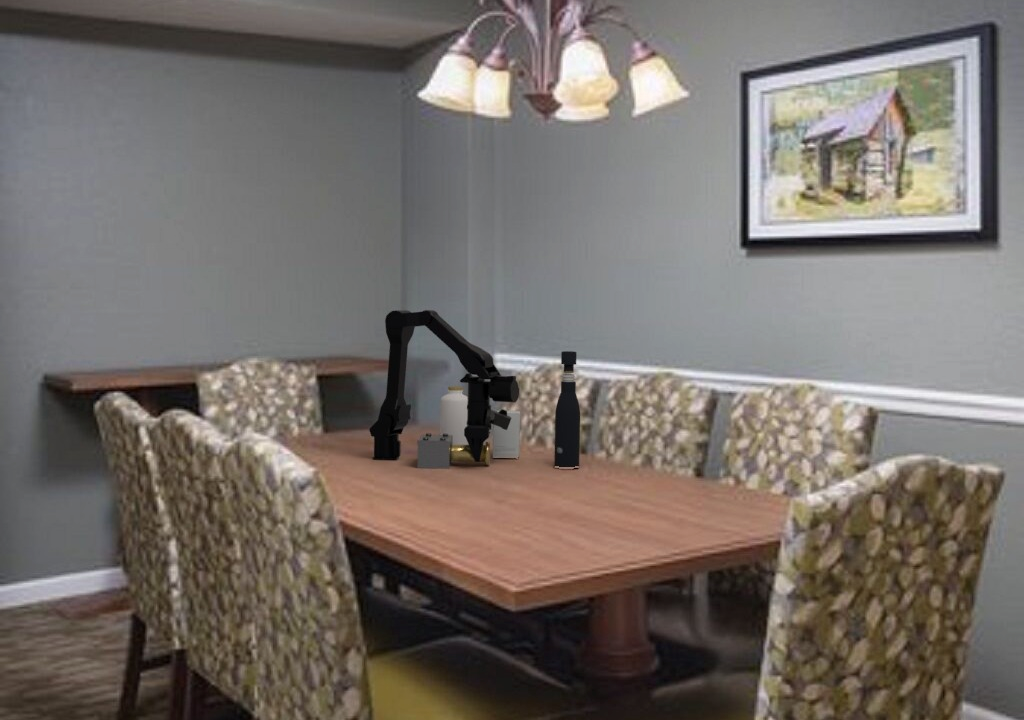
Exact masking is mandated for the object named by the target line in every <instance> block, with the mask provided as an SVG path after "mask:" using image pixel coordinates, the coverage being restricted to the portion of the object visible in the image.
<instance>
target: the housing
mask: <svg viewBox="0 0 1024 720" xmlns="http://www.w3.org/2000/svg"><path fill="white" fill-rule="evenodd" d="M450 444H453V435H448V434H443V435H440V434H432V433H429V432H427V433H425V434H421V435H420V437H418V439H417V469H437V468H449V467H450V468H451V466H450V465H452V464H451V463H453V462H452V461H450ZM450 468H449V469H450Z"/></svg>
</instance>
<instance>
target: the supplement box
mask: <svg viewBox="0 0 1024 720" xmlns="http://www.w3.org/2000/svg"><path fill="white" fill-rule="evenodd" d="M496 411H497V412H499V411H500V410H496ZM506 411H507V416H510V417H511V421H510V424H509V426H508V429H507V430H504V429H502V428H501V427H499V426H496V425H493V424H492V458H493V457H495V458H498V457H519V458H520V447H521V446H520V443H521V410H506Z"/></svg>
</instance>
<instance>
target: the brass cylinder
mask: <svg viewBox="0 0 1024 720" xmlns="http://www.w3.org/2000/svg"><path fill="white" fill-rule="evenodd" d="M490 456H491V442H490V441H485V444H483V446H482V451H481V456H480V461H479V462H478V463H484V465H485V466H490V461H491V460H490V459H491V457H490ZM450 461H452V463H453V462H459V463H460V462H461V463H462V462H464V463H465V462H466V463H467V462H468V463H476V462H475V460H474V457H473V455H472V452H471V450H470V447H469V445H456V444H450Z"/></svg>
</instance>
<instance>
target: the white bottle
mask: <svg viewBox="0 0 1024 720" xmlns="http://www.w3.org/2000/svg"><path fill="white" fill-rule="evenodd" d="M463 392H464V390H463V387H462V386H447V394H444V395H443V396H441V398H440V401H439V403H440V409H439V410H440V411H439V412H440V415H439V435H443V434H448V435H453V444H456V445H469V444H468V442H467V439H466V437H465V436H464V429H465V427H466V426H467V404H468V395H465V394H463Z"/></svg>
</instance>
